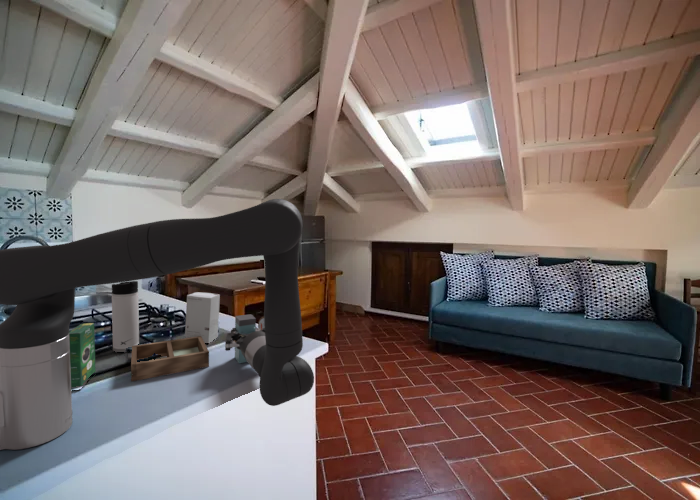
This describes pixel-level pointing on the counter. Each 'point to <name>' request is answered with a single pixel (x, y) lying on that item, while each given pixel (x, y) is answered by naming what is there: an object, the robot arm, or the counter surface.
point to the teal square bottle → (247, 326)
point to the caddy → (169, 357)
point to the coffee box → (82, 353)
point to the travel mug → (125, 315)
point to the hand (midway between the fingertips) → (242, 329)
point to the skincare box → (202, 316)
